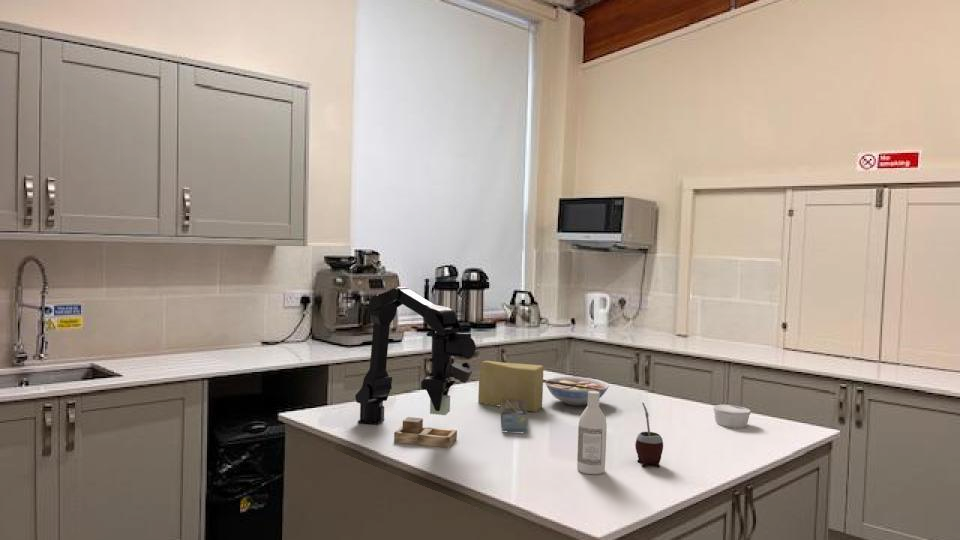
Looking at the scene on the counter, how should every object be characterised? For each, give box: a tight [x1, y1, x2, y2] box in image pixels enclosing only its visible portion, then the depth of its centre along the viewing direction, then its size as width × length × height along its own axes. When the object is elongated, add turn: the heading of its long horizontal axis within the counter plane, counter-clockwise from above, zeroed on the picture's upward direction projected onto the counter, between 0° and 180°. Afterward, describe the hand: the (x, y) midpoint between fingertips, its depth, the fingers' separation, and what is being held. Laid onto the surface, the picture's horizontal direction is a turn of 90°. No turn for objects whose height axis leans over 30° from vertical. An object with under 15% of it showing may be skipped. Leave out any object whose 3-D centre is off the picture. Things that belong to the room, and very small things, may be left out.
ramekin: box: [713, 404, 751, 429], centre depth 224 cm, size 11×11×5 cm
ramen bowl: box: [543, 376, 610, 407], centre depth 246 cm, size 25×23×8 cm
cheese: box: [477, 360, 544, 413], centre depth 239 cm, size 22×10×15 cm, turn 68°
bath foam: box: [576, 391, 607, 476], centre depth 174 cm, size 7×7×20 cm
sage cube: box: [429, 394, 451, 416], centre depth 194 cm, size 4×4×4 cm
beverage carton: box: [500, 399, 528, 434], centre depth 216 cm, size 8×19×7 cm, turn 178°
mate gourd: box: [634, 402, 664, 469], centre depth 181 cm, size 8×8×15 cm
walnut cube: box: [402, 416, 424, 434], centre depth 196 cm, size 4×4×4 cm
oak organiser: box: [393, 425, 458, 448], centre depth 196 cm, size 16×8×3 cm, turn 77°
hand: (440, 408), depth 194 cm, fingers closed on sage cube, 4 cm apart
